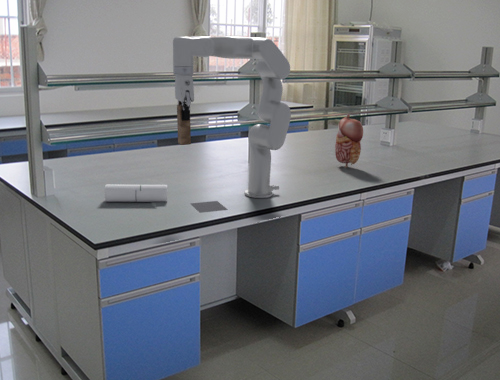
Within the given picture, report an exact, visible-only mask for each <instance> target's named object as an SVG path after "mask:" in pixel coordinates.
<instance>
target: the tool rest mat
mask: <svg viewBox="0 0 500 380" xmlns="http://www.w3.org/2000/svg"><path fill="white" fill-rule="evenodd" d="M189 204H190V205H191V206H192V207H193V208H194V209H195V210H197V212H199V213H208V212H209V213H210V212H211V213H212V212H219V211H228V208H227V207H225V206H224V205H223V204H222V203H220V202H219V201H218V200H214V201H213V200H212V201H203V202H202V201H201V202H193V203H189Z"/></svg>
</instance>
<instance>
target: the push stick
mask: <svg viewBox="0 0 500 380" xmlns="http://www.w3.org/2000/svg"><path fill="white" fill-rule="evenodd" d="M185 104H186V103H185ZM185 104H184V105H185ZM181 110H182V105H178V104H177V105H176V119H177V121H176V122H177V143H178V144H179V145H180V146H186V145H187V146H188V145H189V146H190V145H192V142H191V141H192V139H191V137H192V135H191V134H192V133H191V128H192V127H191V119H190V120H188V121H182V118H181Z"/></svg>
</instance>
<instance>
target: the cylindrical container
mask: <svg viewBox="0 0 500 380" xmlns="http://www.w3.org/2000/svg"><path fill="white" fill-rule="evenodd" d="M104 200H105V202H107V203H110V202H113V203H114V202H115V203H116V202H117V203H118V202H119V203H121V202H123V203H126V202H128V203H129V202H131V203H132V202H134V203H135V202H136V203H137V202H138V203H139V202H141V203H145V202H147V203H149V202H150V203H153V202H162V203H163V202H168V184H127V183H126V184H123V183H122V184H120V183H119V184H118V183H117V184H113V183H111V184H109V183H108V184H105V186H104Z"/></svg>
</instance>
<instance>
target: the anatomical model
mask: <svg viewBox="0 0 500 380" xmlns="http://www.w3.org/2000/svg"><path fill="white" fill-rule="evenodd" d="M350 116H351V115H350V113H347V114H346V116H345V117H343V118H341V119H340V120H339V122H338V126H337V127H338V128H337V129H338V130H337V134H336V138H335V139H336V140H335V144H334V145H335V146H334V148H335V149H334V150H335V151H334V153H335V158H336V160H337V161H338V163H340V164H345V166H344V168H348V166H349V164H350V165H351V166H352V165H355V164H356V163H357V162H358V160H359V159H360V156H361V150H362V143H361V141H362V139H363V137H364V127H363V123H361V121H360V120H358V119H355V118H350Z"/></svg>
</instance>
